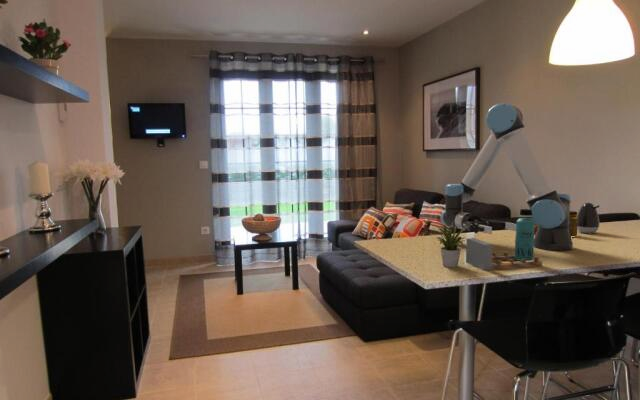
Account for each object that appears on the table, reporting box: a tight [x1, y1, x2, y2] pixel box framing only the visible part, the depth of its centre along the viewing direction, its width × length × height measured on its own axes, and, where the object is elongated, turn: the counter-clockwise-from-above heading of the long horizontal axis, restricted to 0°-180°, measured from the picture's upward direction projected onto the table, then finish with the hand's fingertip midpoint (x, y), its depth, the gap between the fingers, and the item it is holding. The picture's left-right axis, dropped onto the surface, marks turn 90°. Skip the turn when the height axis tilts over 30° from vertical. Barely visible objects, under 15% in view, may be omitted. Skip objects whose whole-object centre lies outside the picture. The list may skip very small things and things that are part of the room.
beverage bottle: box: [513, 208, 536, 262], centre depth 163 cm, size 6×7×20 cm
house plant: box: [432, 222, 468, 268], centre depth 161 cm, size 14×14×16 cm
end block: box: [465, 237, 493, 271], centre depth 160 cm, size 3×12×9 cm, turn 11°
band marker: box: [492, 255, 511, 265], centre depth 162 cm, size 3×12×1 cm, turn 11°
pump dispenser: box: [577, 202, 600, 234], centre depth 222 cm, size 10×10×15 cm
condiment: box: [569, 210, 578, 236], centre depth 214 cm, size 7×8×12 cm
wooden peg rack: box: [492, 251, 543, 271], centre depth 163 cm, size 20×12×3 cm, turn 101°
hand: (505, 229), depth 172 cm, fingers open, 13 cm apart
